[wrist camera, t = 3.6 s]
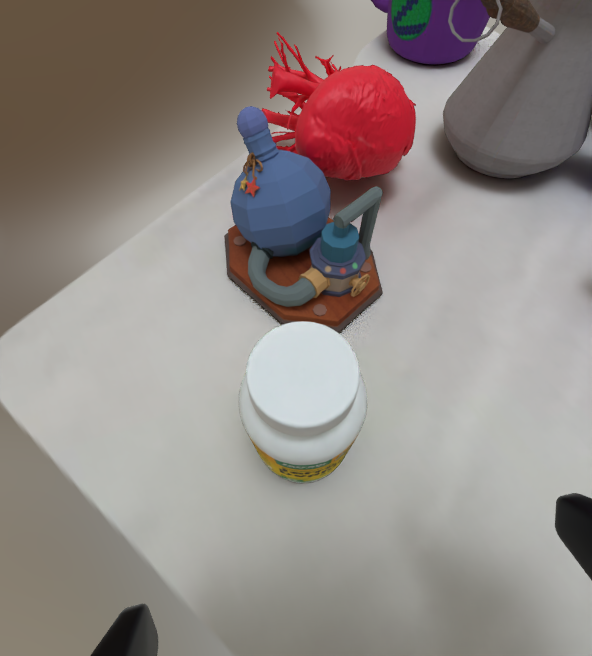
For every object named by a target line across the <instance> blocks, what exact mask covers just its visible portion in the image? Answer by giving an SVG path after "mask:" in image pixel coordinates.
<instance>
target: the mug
mask: <svg viewBox="0 0 592 656" xmlns="http://www.w3.org/2000/svg"><path fill="white" fill-rule="evenodd" d="M371 1H372V2H373V4H374V5H375V7H377V8H378V9H380V10H381V11H383V12H385V13H388V16H387V37H388V41H389V44H390V46H391V47H392V49H393V50H394V51H395V52H396V53H397V54H399V55H400V56H402V57H404V58H406V59H409V60H411V61H414V62H418V63H423V64H445V63H451V62H454V61H457V60H460V59H462V58H463V57H465V56H466V55H468V54H469V53H470V52H471V51H472V50H473V48H474V47H475V45H476V44H477V42H478V41H477V42H462V41H460V40H459V39H458V38H457V37H456V36H455V35H454V34H453V33H452V31H451V28H450V25H449V23H448V19H449V14H450V9H451V6H452V5H453V3H454V2H455V1H456V0H371ZM489 18H490V16H489V15H488V13H487V11H486V7H484V6H483V4H482V2H481V0H460V1H459V2H458V4H457V5H456V6H455V8H454V11H453V16H452V24H453V27H454V30H455V32H456V33H457V34H458V35H459V36H460V37H461V38H463V39H476V38H478V37H480V36H481V34H482V32H483V30H484V28H485V26H486V24H487V22H488V20H489Z"/></svg>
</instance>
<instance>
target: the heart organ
mask: <svg viewBox="0 0 592 656" xmlns="http://www.w3.org/2000/svg"><path fill="white" fill-rule="evenodd" d="M277 35H278V36H279V37H280V38H281V39H282V40H283V41H284V43H285V44H286V46H287V48H288V49H289V51H290V52H291V53H292V54H293V55H294V57H295V58H296V59H297V60H298V62H299V64H300V66H301V68H302V69H303V71H304V72H301V71H296V70H291V69H290V67H288V65H287V61H286V55H285V54H284V51H283V43H282V42H281V53H282V55H281V53H280V50H279V48H278V46H277V43H276V41H274V44H275V46H276V48H277V51H278V53H279V55H280V57H281V59H282V62H283V64H284V65H285V67H282V66H280V65H279V64H278V63H277V62H276V61H275V60H274V58H273V57H272V56H271V60H272V61H273V62H274V66H269V69H268V71H269V72H273V73H272V77H271V76H269V78H270V79H271V88H269V87H268V88H267V91H270V99H271V98H272V97H274V96H275V95H276V94H280V95H283V97H287V98H288V99H290V100H291V101H293V102H294V103H295V105H294V106H293V108H292V111H291V112H290V111H288V113H289V114H290V115H283V114H280V113H279V112H278V113H275V112H272V111H269V110H267V109H264V108H262V112H263V113H264V114H265V116H266V118H267V121H268V123H273V124H275V125H279V126H282V127H284V128H287V130H288V129H290V130H293V131H295V132H273V133H272V134H274V133H286V134H285V135H280V136H275V137H272V139H273V142H275V143H277V142H279V141H282V140H288V139H293V138H295V144H294V145H292V146H291V147H288V146H286V147H282V146H276V147H277V149H278V150H285V151H290V152H293V153H296V154H298V155H301V156H304V157H307V158H309V159H310V160H311V161H312V162H313V163H314V164H315V165H316V166H317V167H318V168H319V169H320V170H321V171H322V172H323V173H324V176H325V177H330V178H336V177H337V178H339V179H344V180H356V179H357V180H359V179H360V178H361V177H366V178H367V177H371V176H376V175H381V174H386V173H389V172H390V171H391V170H393V169H394V168H395V167H396V166H397V165H398V163H399V161H400V160H401V158H402V155H404V156H405V155H406V154H407V153H408V152H409V150H410V149H411V147H412V144H413V139H414V133H415V123H416V116H415V109H414V105H416V104H415V103H413V102H412V101H411V100H410V99H409V98H408V97H407V95H406V94H405V91H404V88H403V86H402V85H401V84H400V82H399V81H398V80H397V79H396V78H394V77H393V76H392V74H390V73H388V72H386V71H385V70H383V69H381V68H380V67H378V66H375V65H371V66H363V65H361V66H353V67H348V68H346V69H343V70H341V66H340V68H339V70H337V69H336V67H335V66H334V64H332V67H333V68H334V69H335V70H333V68H332V67H331V65H330V63H329V62H330V60H331V58H332V57H333V56H332V57H331V58H329V59H327V60H324V59H320V58H319V57H317V56H316V57H315V58H317V59H319V60H320V61H321V63H322V65H324V66H325V68H326V73H327V74H328V77H327V78H326V79H325V80H323V79H322V78H320V77H318V76H317V75H315V74H313V73H311V72H310V71H309V70H308V68H307V67H306V66H305V64H304V63H303V61H302V58H301V55H300V53H299V51H298V48H297V46H295V45H294V46H295V48H296V50H297V53H298V56H297V55H296V53H295V52H294V51H293V49H292V48H291V47H290V46H289V44H288V43H287V42H286V40H285V39H284V37H282V36H281V35H280V34H279V33H278V32H277ZM279 41H280V39H279ZM282 56H283V57H282ZM324 63H325V64H324ZM340 70H341V71H340ZM298 94H302V95H298ZM306 100H307V102H306V103H305V102H304V101H306ZM298 107H300V108H301V109H302V111H301V113H300V115H297V114H295V113H294V111H295V110H296V109H297V108H298ZM293 115H294V116H293ZM368 179H369V178H368Z"/></svg>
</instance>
